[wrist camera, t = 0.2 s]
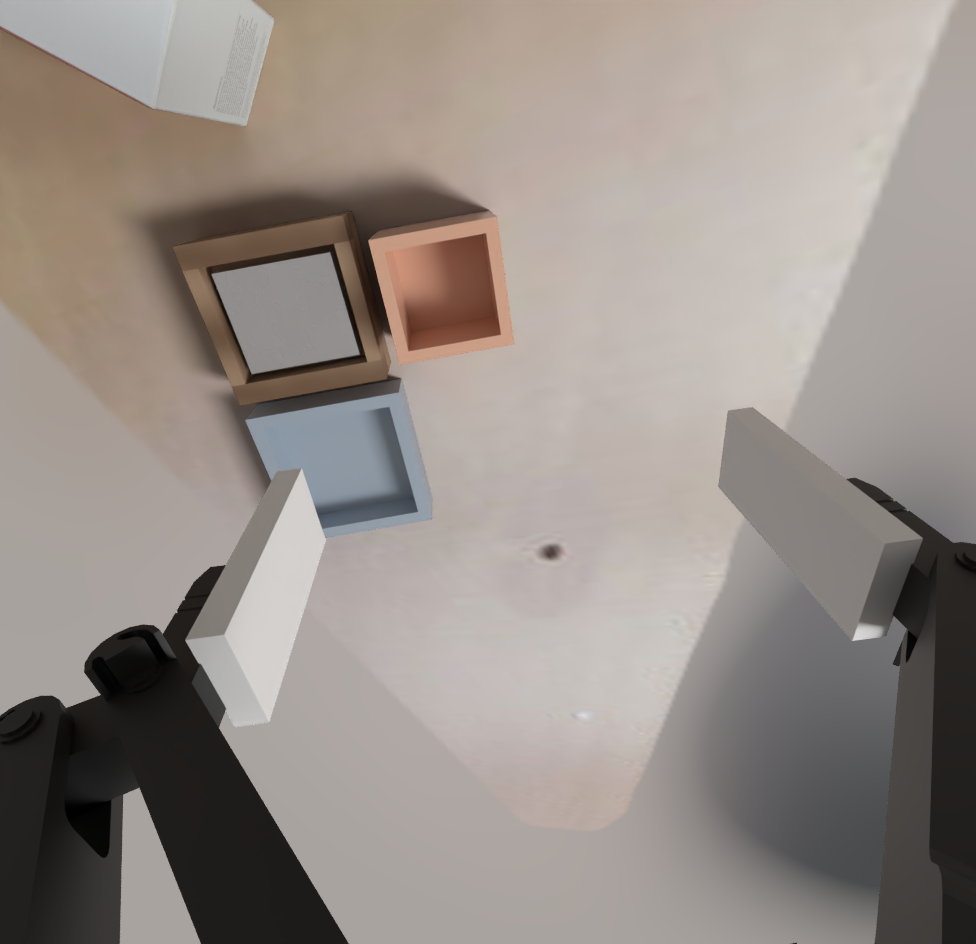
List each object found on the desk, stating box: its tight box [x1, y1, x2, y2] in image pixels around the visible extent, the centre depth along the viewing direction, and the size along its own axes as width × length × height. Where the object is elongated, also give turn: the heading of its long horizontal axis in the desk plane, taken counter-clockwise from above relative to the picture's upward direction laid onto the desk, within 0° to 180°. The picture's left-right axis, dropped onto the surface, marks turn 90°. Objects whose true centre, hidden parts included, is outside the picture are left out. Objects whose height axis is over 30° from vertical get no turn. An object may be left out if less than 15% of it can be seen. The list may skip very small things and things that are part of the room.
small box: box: [0, 0, 274, 127], centre depth 26 cm, size 8×6×13 cm
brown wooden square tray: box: [172, 211, 391, 405], centre depth 38 cm, size 11×11×4 cm
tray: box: [245, 379, 432, 538], centre depth 45 cm, size 12×12×3 cm
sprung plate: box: [212, 250, 362, 374], centre depth 37 cm, size 7×8×1 cm
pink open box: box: [368, 210, 514, 365], centre depth 37 cm, size 8×8×6 cm
